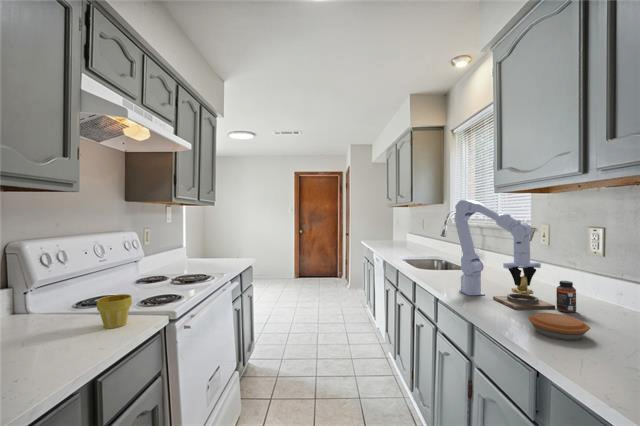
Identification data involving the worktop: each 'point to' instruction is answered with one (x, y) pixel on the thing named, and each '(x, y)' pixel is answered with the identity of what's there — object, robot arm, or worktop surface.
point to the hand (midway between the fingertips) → (522, 285)
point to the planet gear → (523, 286)
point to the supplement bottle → (566, 297)
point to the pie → (558, 326)
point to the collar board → (522, 306)
